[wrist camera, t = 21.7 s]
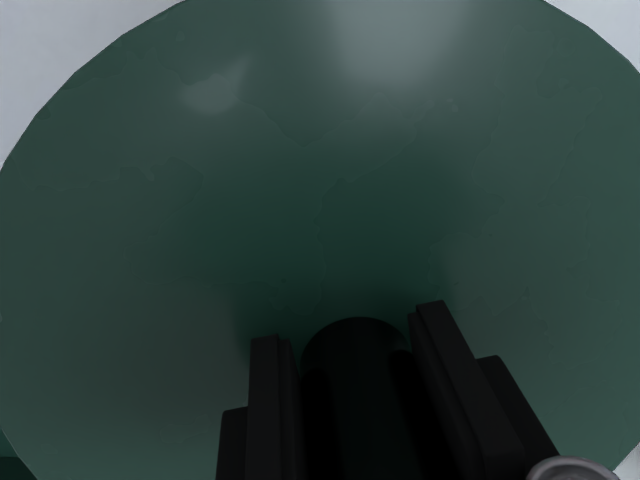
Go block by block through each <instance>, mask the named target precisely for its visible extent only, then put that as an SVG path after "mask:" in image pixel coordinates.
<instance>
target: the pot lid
mask: <svg viewBox="0 0 640 480" xmlns="http://www.w3.org/2000/svg"><path fill="white" fill-rule="evenodd" d="M437 300H444V302H445V304H446V305H447V307H448V309H449V311H450V313H451V315H452V316H453V318H454V320H455V322H456V324H457V326H458V328H459V329H460V331H461V333H462V335H463V337H464V339H465V340H466V342H467V344H468V346H469V348H470V350H471V352H472V353H473V355H474V357H475V359H478V358H483V357H488V356H493V355H498V356H499V357H500V358H501V359H502V361H503V362H504V364H505V365H506V367H507V368H508V370H509V372H510V373H511V375H512V377H513V378H514V380H515V382H516V383H517V385H518V386H519V388H520V390H521V391H522V393H523V395H524V396H525V398H526V400H527V401H528V403H529V404H530V406H531V408H532V409H533V411H534V413H535V414H536V416H537V418H538V419H539V421H540V422H541V424H542V426H543V427H544V429H545V431H546V432H547V434H548V436H549V437H550V439H551V440H552V442H553V444H554V445H555V447H556V449H557V450H558V452H559V454H560V455H561V456H566V455H572V456H577V457H583V458H587V459H590V460H592V461H595V462H597V463H599V464H602V465H603V466H605V467H606V468H608V469H609V470H610V471H614V470H615V469H616V467H617V466H618V465H619V464H620V463H621V462H622V461H623V460H624V458H625V457H626V456H627V455H628V454H629V453H630V452H631V451H632V450H633V448H634V447H635V446H636V445H637V444H638V443H639V442H640V73H639V72H638V71H637V70H636V68H635V67H634V66H633V65H632V64H631V62H630V61H629V60H628V59H627V58H625V57H624V56H623V55H622V54H621V53H619V52H618V51H617V50H616V49H615V48H613V47H612V46H611V45H610V44H609V43H607V42H606V41H605V40H604V39H603V38H602V37H600V36H599V35H598V34H597V33H596V32H594V31H593V30H592V29H591V28H590V27H588V26H587V25H585V24H583V23H582V22H580V21H578V20H576V19H575V18H573V17H571V16H570V15H568V14H566V13H565V12H563V11H561V10H559V9H558V8H556V7H554V6H553V5H551V4H549V3H548V2H546V1H544V0H185V1H182V2H180V3H177V4H175V5H173V6H172V7H170V8H168V9H166V10H165V11H163V12H161V13H159V14H158V15H156V16H154V17H152V18H151V19H149V20H147V21H145V22H144V23H142V24H140V25H138V26H137V27H135V28H133V29H132V30H130V31H128V32H126V33H125V34H123V35H121V36H120V37H119V38H117V39H116V40H115V41H114V42H112V43H111V44H110V45H109V46H107V47H106V48H105V49H104V50H102V51H101V52H100V53H99V54H97V55H96V56H95V57H94V58H92V59H91V60H90V61H89V62H87V63H86V64H85V65H84V66H82V67H81V68H80V69H79V70H77V71H76V72H75V73H74V74H73V75H72V76H71V77H70V78H69V79H68V80H67V81H66V82H65V83H64V85H63V86H62V87H61V88H60V89H59V90H58V91H57V92H56V93H55V94H54V95H53V97H52V98H51V99H50V100H49V101H48V102H47V103H46V104H45V105H44V106H43V107H42V108H41V110H40V111H39V112H38V113H37V114H36V115H35V116H34V118H33V119H32V121H31V122H30V124H29V125H28V127H27V128H26V130H25V131H24V133H23V135H22V136H21V138H20V139H19V141H18V142H17V144H16V145H15V147H14V148H13V150H12V151H11V153H10V154H9V156H8V157H7V159H6V160H5V162H4V164H3V167H2V169H1V171H0V427H1V429H2V431H3V432H4V434H5V435H6V437H7V439H8V440H9V442H10V444H11V445H12V447H13V448H14V450H15V452H16V453H17V455H18V457H19V458H20V459H21V460H22V461H23V463H24V464H25V465H26V466H27V467H28V469H29V470H30V471H31V472H32V473H33V475H34V476H35V477H36V478H37V479H38V480H215V477H216V467H217V458H218V448H219V438H220V428H221V419H222V414H223V412H224V411H225V410H230V409H235V408H240V407H245V406H248V391H249V368H250V345H251V339H253V338H257V337H262V336H267V335H272V334H278V335H279V338H280V340H283V339H288V338H289V339H290V342H291V346H292V350H293V354H294V358H295V362H296V366H297V370H298V373H299V377H300V381H301V389H302V401H303V413H304V424H305V436H306V448H307V460H308V472H309V480H460V477H459V475H458V472H457V469H456V467H455V464H454V462H453V459H452V456H451V454H450V451H449V449H448V446H447V443H446V441H445V438H444V436H443V433H442V430H441V428H440V425H439V423H438V420H437V417H436V415H435V412H434V409H433V407H432V404H431V402H430V399H429V396H428V394H427V391H426V389H425V386H424V383H423V381H422V378H421V376H420V373H419V370H418V368H417V365H416V363H415V360H414V357H413V354H412V347H411V340H410V333H409V326H408V318H407V315H408V314H409V313H414V312H416V305H418V304H422V303H427V302H432V301H437Z"/></svg>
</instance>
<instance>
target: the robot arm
mask: <svg viewBox="0 0 640 480" xmlns="http://www.w3.org/2000/svg"><path fill="white" fill-rule="evenodd" d="M407 318H408V326H409V333H410V340H411V347H412V354H413V357H414V360H415V363H416V365H417V368H418V370H419V373H420V376H421V378H422V381H423V383H424V386H425V389H426V391H427V394H428V396H429V399H430V402H431V404H432V407H433V409H434V412H435V415H436V417H437V420H438V423H439V425H440V428H441V430H442V433H443V436H444V438H445V441H446V443H447V446H448V449H449V451H450V454H451V456H452V459H453V462H454V464H455V467H456V469H457V472H458V475H459V477H460V480H620V479H619V478H618V476H617V475H616V474H615V473H613V472H612V471H610V470H609V469H608V468H606V467H605V466H603V465H602V464H599V463H597V462H595V461H592V460H590V459H587V458H583V457H577V456H572V455H566V456H561V455H560V454H559V452H558V450H557V449H556V447H555V445H554V444H553V442H552V440H551V439H550V437H549V436H548V434H547V432H546V431H545V429H544V427H543V426H542V424H541V422H540V421H539V419H538V418H537V416H536V414H535V413H534V411H533V409H532V408H531V406H530V404H529V403H528V401H527V400H526V398H525V396H524V395H523V393H522V391H521V390H520V388H519V386H518V385H517V383H516V382H515V380H514V378H513V377H512V375H511V373H510V372H509V370H508V368H507V367H506V365H505V364H504V362H503V361H502V359H501V358H500V357H499V356H498V355H493V356H488V357H483V358H478V359H475V357H474V355H473V353H472V352H471V350H470V348H469V346H468V344H467V342H466V340H465V339H464V337H463V335H462V333H461V331H460V329H459V328H458V326H457V324H456V322H455V320H454V318H453V316H452V315H451V313H450V311H449V309H448V307H447V305H446V304H445V302H444V300H437V301H432V302H427V303H422V304H418V305H416V312H414V313H409V314H408V315H407ZM215 480H309V472H308V460H307V448H306V436H305V424H304V413H303V401H302V389H301V381H300V377H299V373H298V370H297V366H296V362H295V358H294V354H293V350H292V346H291V342H290V339H289V338H288V339H283V340H280V338H279V335H278V334H272V335H267V336H262V337H257V338H253V339H251V345H250V368H249V391H248V406H245V407H240V408H235V409H230V410H225V411H224V412H223V414H222V419H221V428H220V438H219V448H218V458H217V467H216V477H215Z"/></svg>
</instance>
